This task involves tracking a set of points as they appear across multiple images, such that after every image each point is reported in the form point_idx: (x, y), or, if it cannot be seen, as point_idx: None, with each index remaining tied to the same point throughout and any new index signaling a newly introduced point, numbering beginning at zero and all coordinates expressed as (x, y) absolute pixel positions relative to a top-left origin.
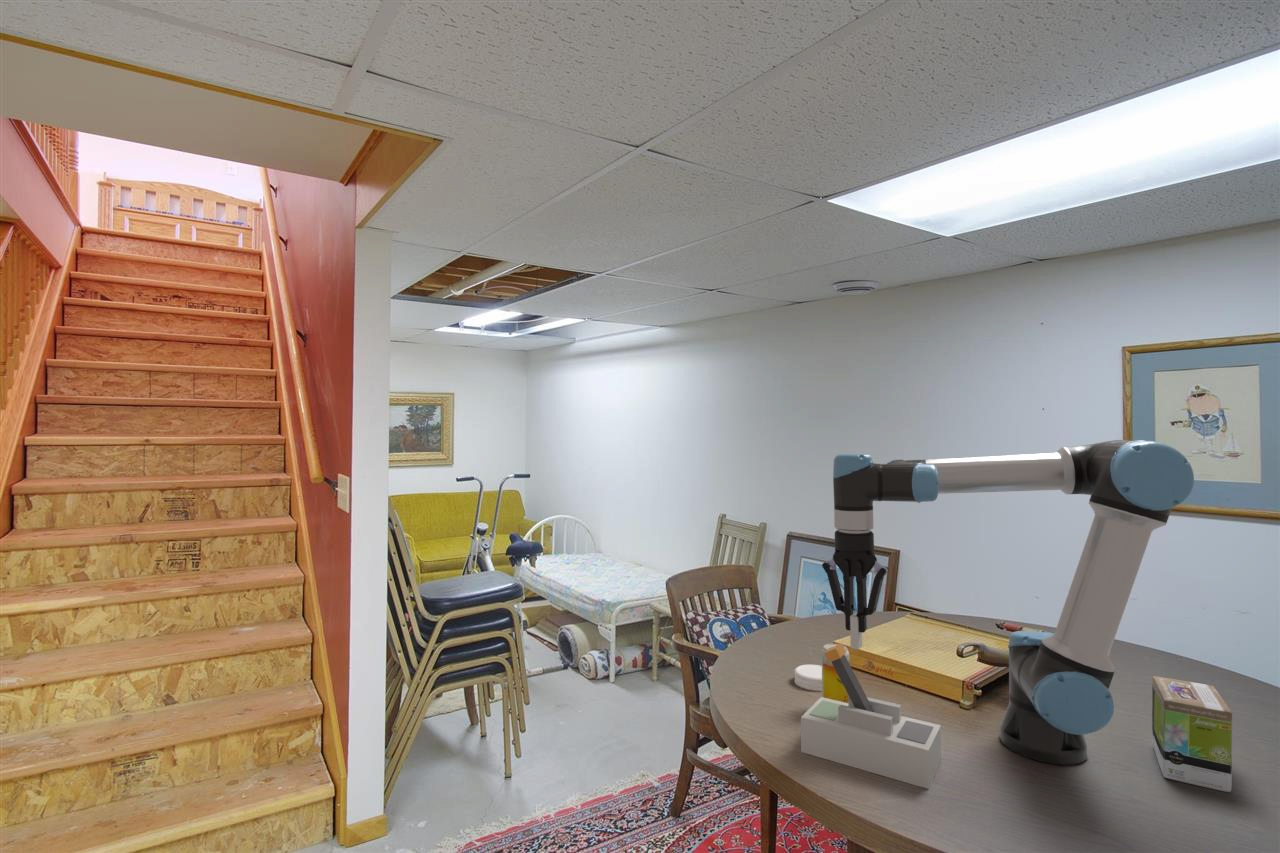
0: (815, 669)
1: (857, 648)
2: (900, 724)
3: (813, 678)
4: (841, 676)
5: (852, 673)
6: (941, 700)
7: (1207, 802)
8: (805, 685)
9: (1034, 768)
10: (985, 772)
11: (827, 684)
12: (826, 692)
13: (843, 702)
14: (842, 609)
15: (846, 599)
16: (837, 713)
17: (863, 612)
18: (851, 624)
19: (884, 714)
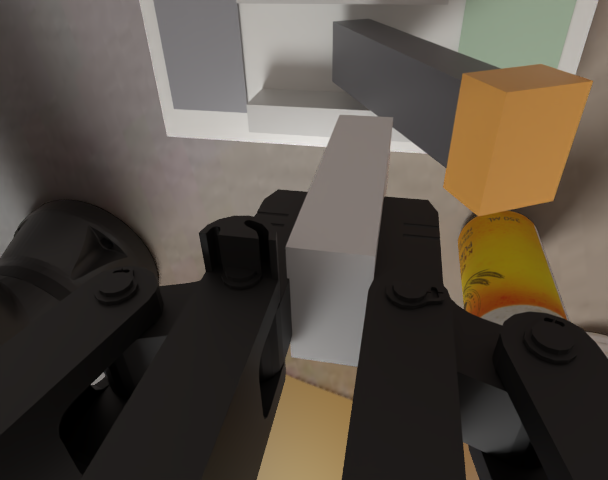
0: None
1: (343, 117)
2: (255, 78)
3: None
4: (453, 56)
5: (403, 114)
6: (287, 368)
7: None
8: (601, 341)
9: (69, 169)
10: (121, 101)
11: (534, 263)
12: (532, 247)
13: None
14: (485, 338)
15: (418, 456)
16: (466, 37)
17: (198, 287)
18: (369, 204)
19: (304, 96)
